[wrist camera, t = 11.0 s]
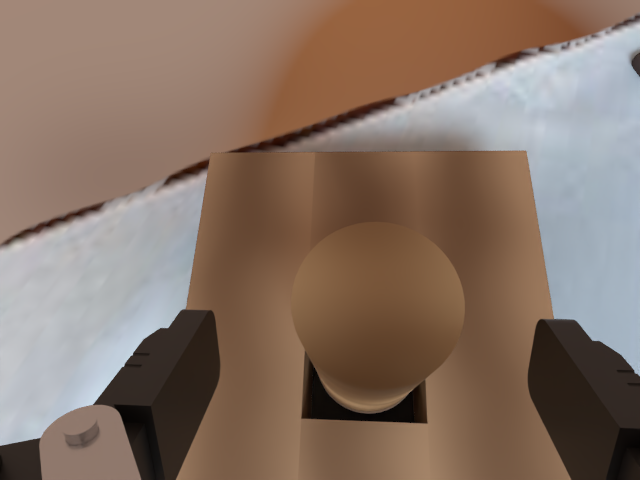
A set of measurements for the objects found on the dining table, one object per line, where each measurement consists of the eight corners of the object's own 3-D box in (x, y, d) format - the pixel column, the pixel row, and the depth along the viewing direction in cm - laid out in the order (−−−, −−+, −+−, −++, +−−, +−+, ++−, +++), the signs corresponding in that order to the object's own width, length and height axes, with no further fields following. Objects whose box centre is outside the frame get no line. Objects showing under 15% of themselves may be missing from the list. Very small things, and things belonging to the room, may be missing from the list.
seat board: (499, 195, 24) (526, 150, 20) (578, 792, 15) (650, 906, 11) (231, 195, 25) (210, 152, 21) (159, 750, 16) (101, 841, 12)
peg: (404, 333, 21) (459, 220, 10) (407, 420, 20) (475, 395, 9) (324, 331, 22) (294, 219, 11) (321, 416, 20) (282, 388, 9)
